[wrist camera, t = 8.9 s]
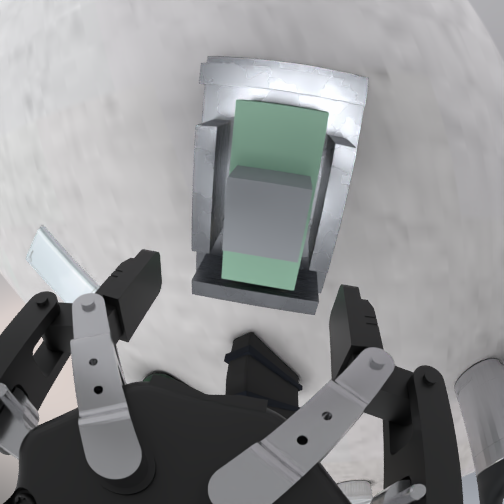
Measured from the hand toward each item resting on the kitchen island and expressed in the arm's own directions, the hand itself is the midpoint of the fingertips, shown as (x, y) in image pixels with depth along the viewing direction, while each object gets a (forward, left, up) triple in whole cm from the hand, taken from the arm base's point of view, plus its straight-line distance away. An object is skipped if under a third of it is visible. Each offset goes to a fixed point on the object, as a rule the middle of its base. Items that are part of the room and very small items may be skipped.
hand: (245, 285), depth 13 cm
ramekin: (-36, +81, -16) cm, 90 cm away
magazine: (-3, +24, -16) cm, 29 cm away
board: (0, 0, -12) cm, 12 cm away
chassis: (0, 0, -15) cm, 15 cm away
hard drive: (+27, +16, -16) cm, 35 cm away
